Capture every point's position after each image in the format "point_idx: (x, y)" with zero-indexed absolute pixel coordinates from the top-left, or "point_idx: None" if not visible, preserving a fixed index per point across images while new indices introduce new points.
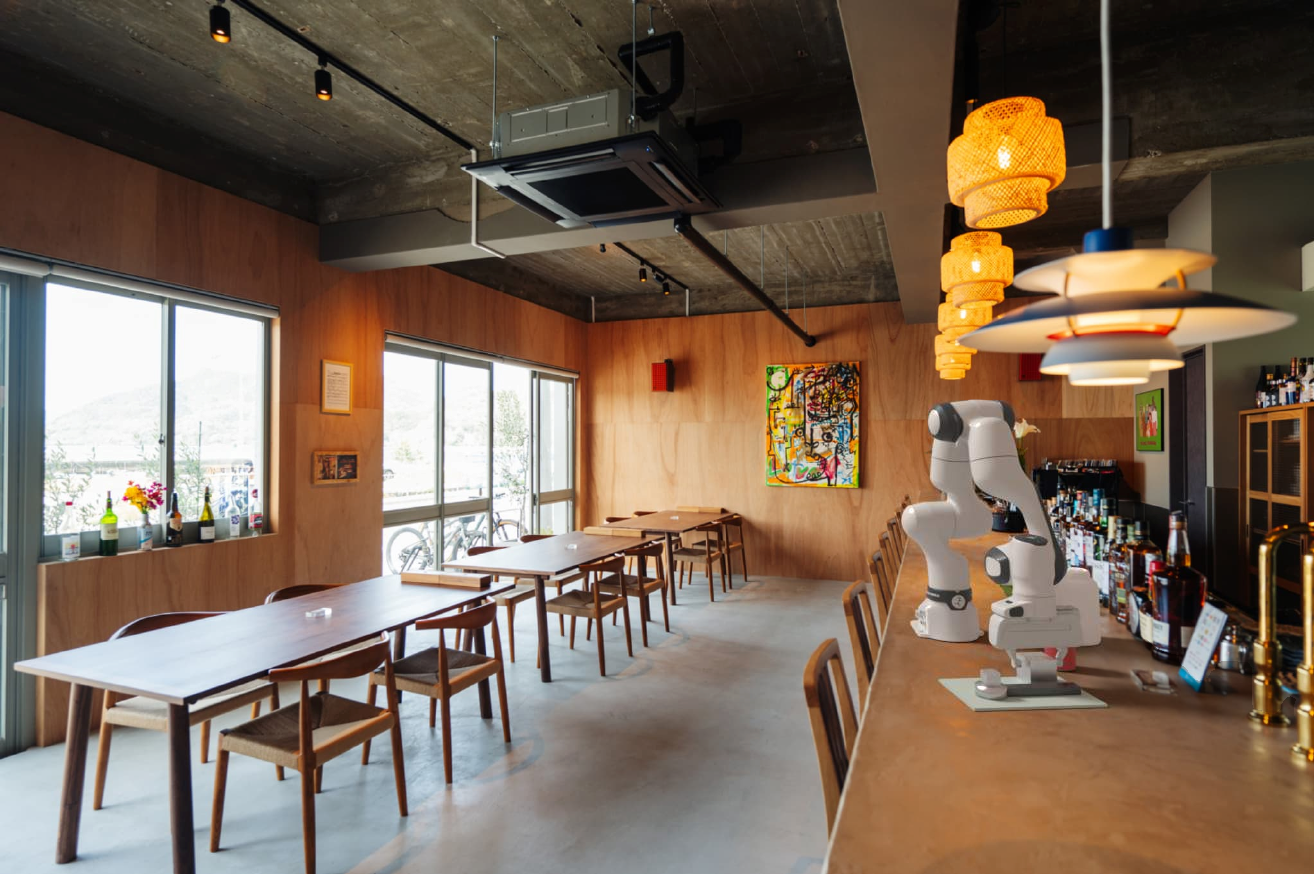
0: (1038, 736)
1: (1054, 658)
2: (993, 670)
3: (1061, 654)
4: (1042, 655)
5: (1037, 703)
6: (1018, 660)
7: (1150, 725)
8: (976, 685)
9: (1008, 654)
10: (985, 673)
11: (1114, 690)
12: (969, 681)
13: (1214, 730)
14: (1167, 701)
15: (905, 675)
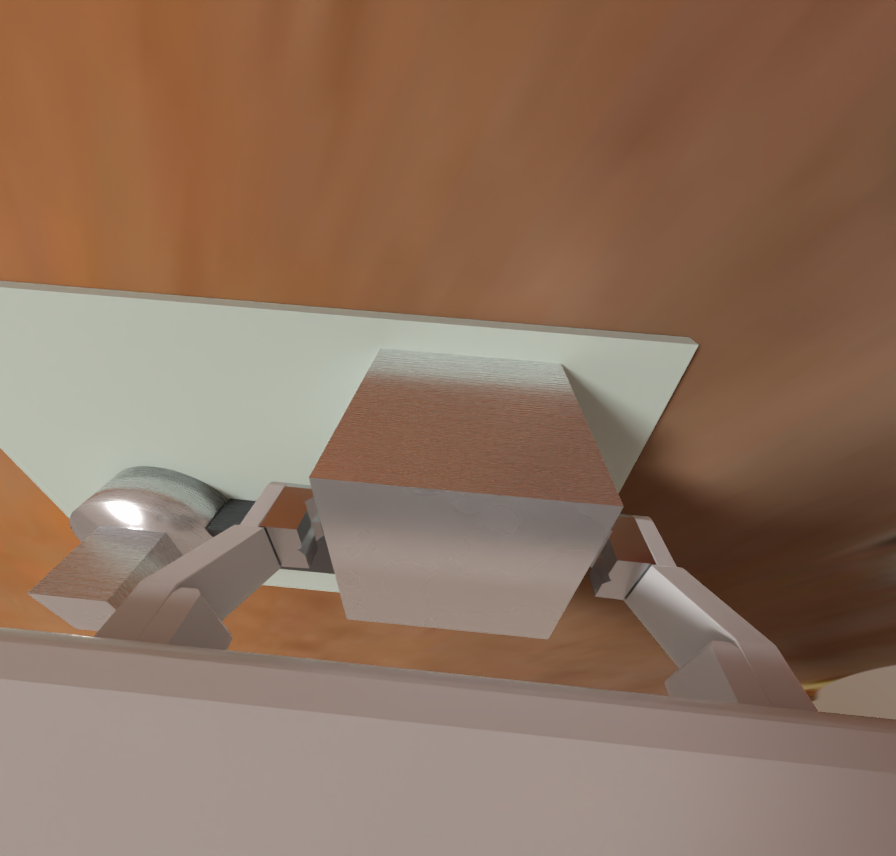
0: (271, 648)
1: (610, 577)
2: (106, 613)
3: (667, 636)
4: (525, 577)
5: (333, 579)
6: (286, 563)
7: (550, 661)
8: (82, 541)
9: (188, 563)
10: (70, 619)
11: (762, 525)
12: (60, 352)
13: (657, 686)
14: (798, 608)
15: None
